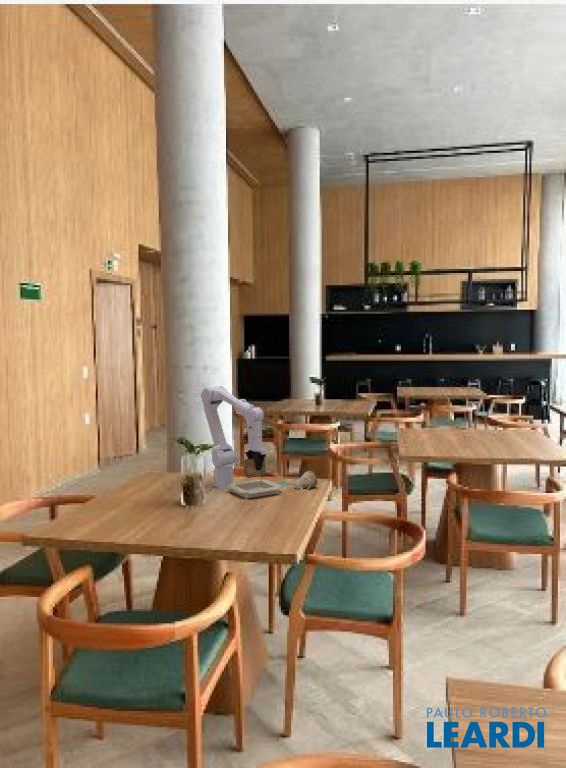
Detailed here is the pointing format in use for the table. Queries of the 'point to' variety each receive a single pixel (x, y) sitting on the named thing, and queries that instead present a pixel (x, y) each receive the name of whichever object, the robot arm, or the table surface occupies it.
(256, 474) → the box
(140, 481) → the table surface
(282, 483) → the mat
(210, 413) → the robot arm
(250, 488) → the off-white shallow square tray
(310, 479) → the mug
